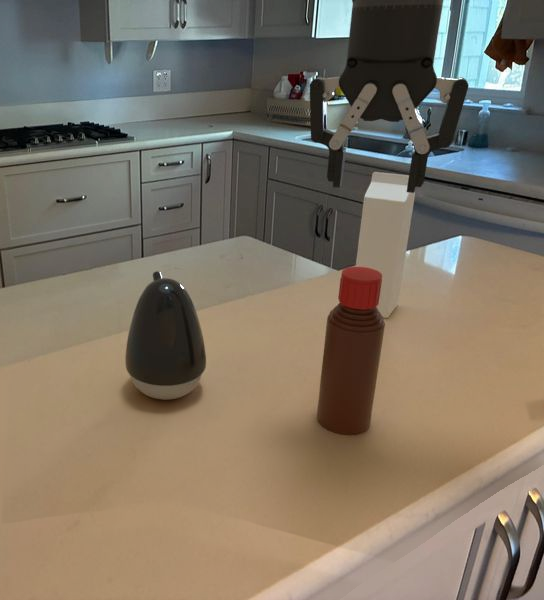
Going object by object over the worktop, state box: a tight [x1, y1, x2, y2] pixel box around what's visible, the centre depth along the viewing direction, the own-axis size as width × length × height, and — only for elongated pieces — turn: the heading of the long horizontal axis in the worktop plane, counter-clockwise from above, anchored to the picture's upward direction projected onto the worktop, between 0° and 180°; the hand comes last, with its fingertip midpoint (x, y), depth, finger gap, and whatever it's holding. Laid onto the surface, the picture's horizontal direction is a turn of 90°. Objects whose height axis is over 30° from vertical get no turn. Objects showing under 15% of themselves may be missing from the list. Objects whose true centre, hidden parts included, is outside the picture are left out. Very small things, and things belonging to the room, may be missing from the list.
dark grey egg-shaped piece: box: [124, 270, 207, 401], centre depth 76 cm, size 10×10×15 cm
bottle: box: [316, 302, 386, 436], centre depth 69 cm, size 6×6×18 cm
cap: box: [338, 266, 382, 310], centre depth 66 cm, size 4×4×3 cm
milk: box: [355, 171, 416, 319], centre depth 96 cm, size 6×6×22 cm
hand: (372, 187), depth 61 cm, fingers open, 6 cm apart
